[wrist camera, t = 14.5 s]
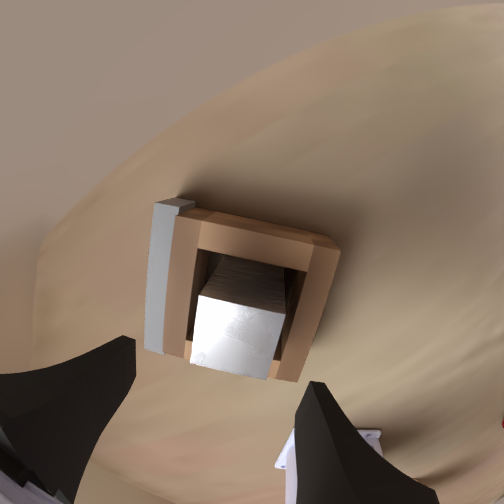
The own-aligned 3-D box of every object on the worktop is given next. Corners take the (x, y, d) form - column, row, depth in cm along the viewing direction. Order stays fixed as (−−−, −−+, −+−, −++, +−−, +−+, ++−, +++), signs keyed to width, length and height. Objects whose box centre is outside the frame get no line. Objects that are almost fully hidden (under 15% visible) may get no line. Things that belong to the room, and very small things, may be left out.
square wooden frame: (328, 235, 19) (341, 251, 15) (294, 349, 21) (297, 382, 17) (195, 207, 19) (175, 215, 15) (179, 323, 21) (162, 352, 17)
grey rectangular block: (283, 266, 19) (285, 314, 13) (269, 318, 21) (266, 380, 14) (225, 254, 20) (198, 295, 13) (215, 306, 21) (190, 362, 14)
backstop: (196, 201, 19) (179, 207, 15) (179, 330, 21) (164, 354, 18) (175, 197, 19) (154, 202, 15) (161, 325, 21) (144, 348, 18)
